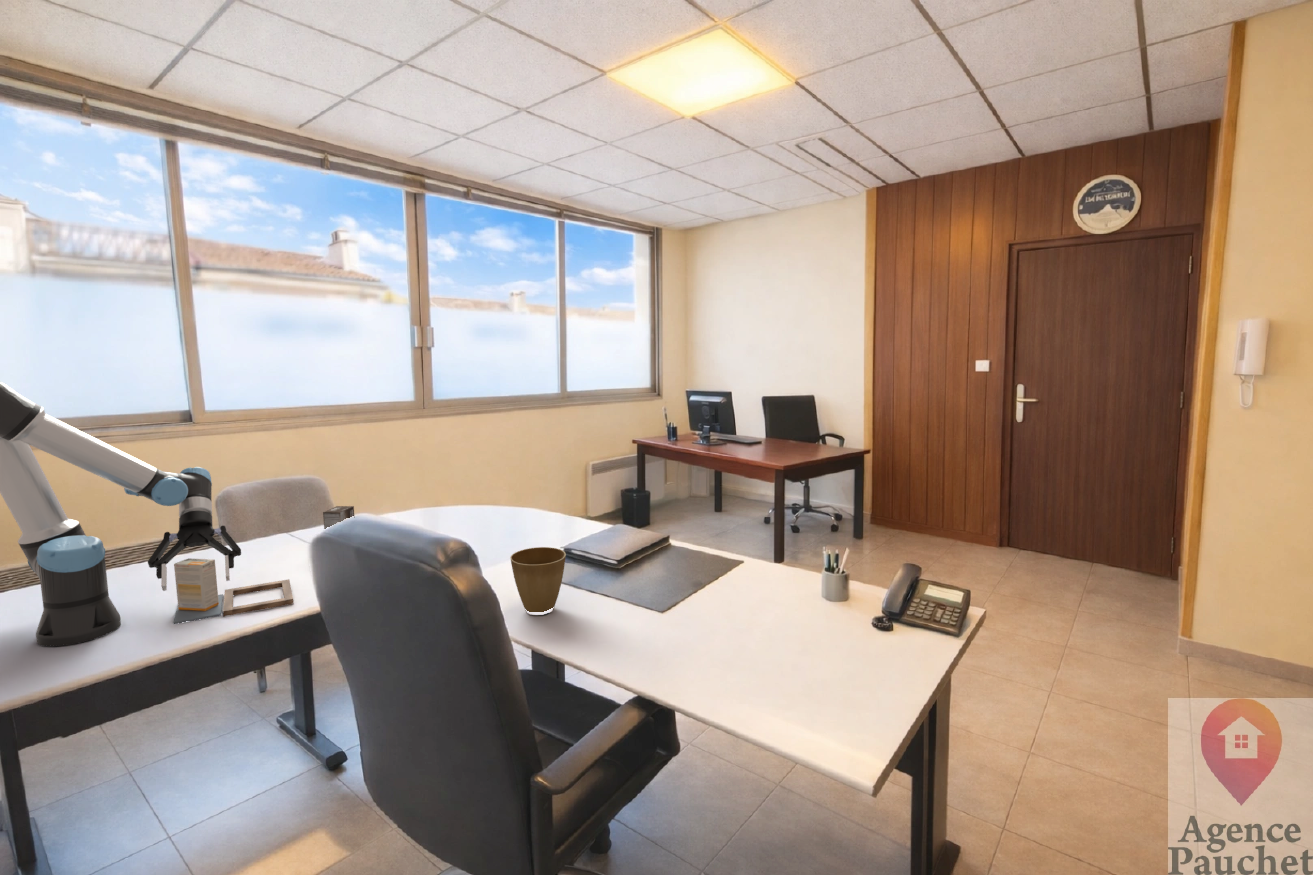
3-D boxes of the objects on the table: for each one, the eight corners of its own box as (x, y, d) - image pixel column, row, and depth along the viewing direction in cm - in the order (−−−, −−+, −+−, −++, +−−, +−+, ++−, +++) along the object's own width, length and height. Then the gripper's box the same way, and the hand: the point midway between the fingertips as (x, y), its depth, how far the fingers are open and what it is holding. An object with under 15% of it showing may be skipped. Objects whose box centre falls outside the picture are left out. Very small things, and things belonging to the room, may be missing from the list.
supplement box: (220, 604, 165) (216, 558, 164) (205, 611, 161) (201, 564, 159) (192, 603, 166) (188, 557, 165) (177, 610, 161) (173, 563, 160)
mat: (173, 624, 154) (173, 622, 154) (178, 603, 167) (178, 601, 167) (221, 615, 160) (221, 613, 160) (222, 596, 173) (222, 594, 173)
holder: (223, 616, 159) (222, 611, 159) (225, 594, 174) (224, 589, 174) (293, 603, 168) (293, 598, 168) (289, 583, 183) (289, 579, 183)
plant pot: (533, 596, 176) (533, 543, 174) (576, 606, 169) (576, 551, 167) (499, 615, 163) (498, 558, 161) (544, 626, 156) (543, 567, 154)
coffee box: (339, 548, 217) (337, 505, 216) (356, 549, 217) (354, 505, 215) (325, 556, 208) (322, 511, 206) (343, 557, 208) (340, 512, 206)
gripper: (249, 517, 181) (253, 580, 170) (140, 529, 167) (137, 599, 156) (248, 503, 176) (252, 568, 165) (136, 515, 162) (132, 585, 151)
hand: (196, 583), depth 161 cm, fingers open, 13 cm apart
